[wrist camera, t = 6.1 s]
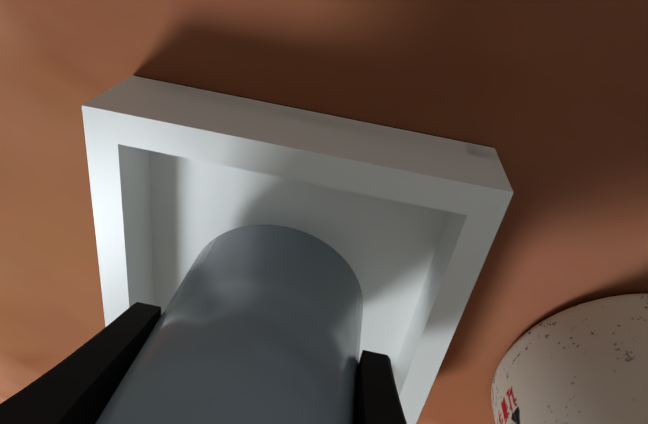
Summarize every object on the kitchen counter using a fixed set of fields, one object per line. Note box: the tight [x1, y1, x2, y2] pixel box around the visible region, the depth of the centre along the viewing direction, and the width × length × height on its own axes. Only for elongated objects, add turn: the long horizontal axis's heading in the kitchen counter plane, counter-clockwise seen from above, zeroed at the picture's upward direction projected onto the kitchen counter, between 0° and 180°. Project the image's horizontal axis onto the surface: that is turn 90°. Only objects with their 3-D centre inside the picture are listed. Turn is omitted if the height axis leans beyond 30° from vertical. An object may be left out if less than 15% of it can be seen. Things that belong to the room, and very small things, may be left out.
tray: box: [82, 76, 514, 424], centre depth 15 cm, size 10×10×2 cm
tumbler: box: [95, 224, 363, 424], centre depth 11 cm, size 5×5×7 cm
